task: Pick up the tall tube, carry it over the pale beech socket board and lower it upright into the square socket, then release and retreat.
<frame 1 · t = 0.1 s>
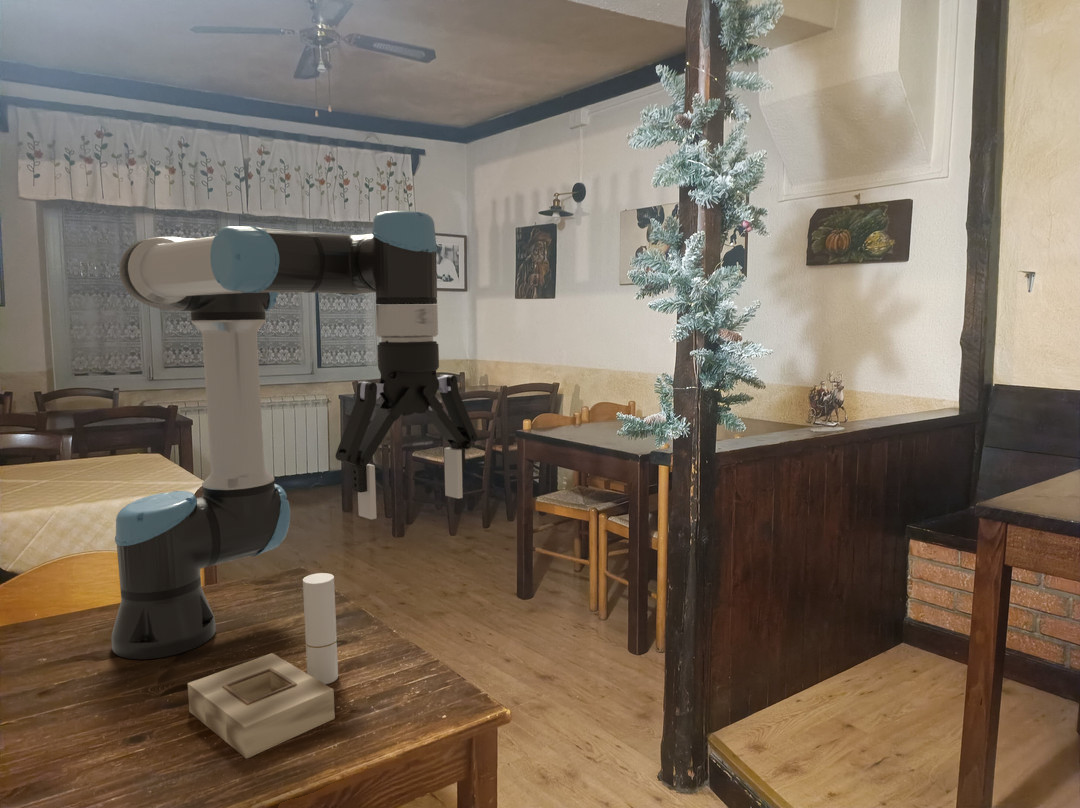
hand: (412, 506, 97), 28 cm above the table, fingers open, 13 cm apart
socket board: (261, 715, 100), on the table
tube: (323, 679, 110), on the table
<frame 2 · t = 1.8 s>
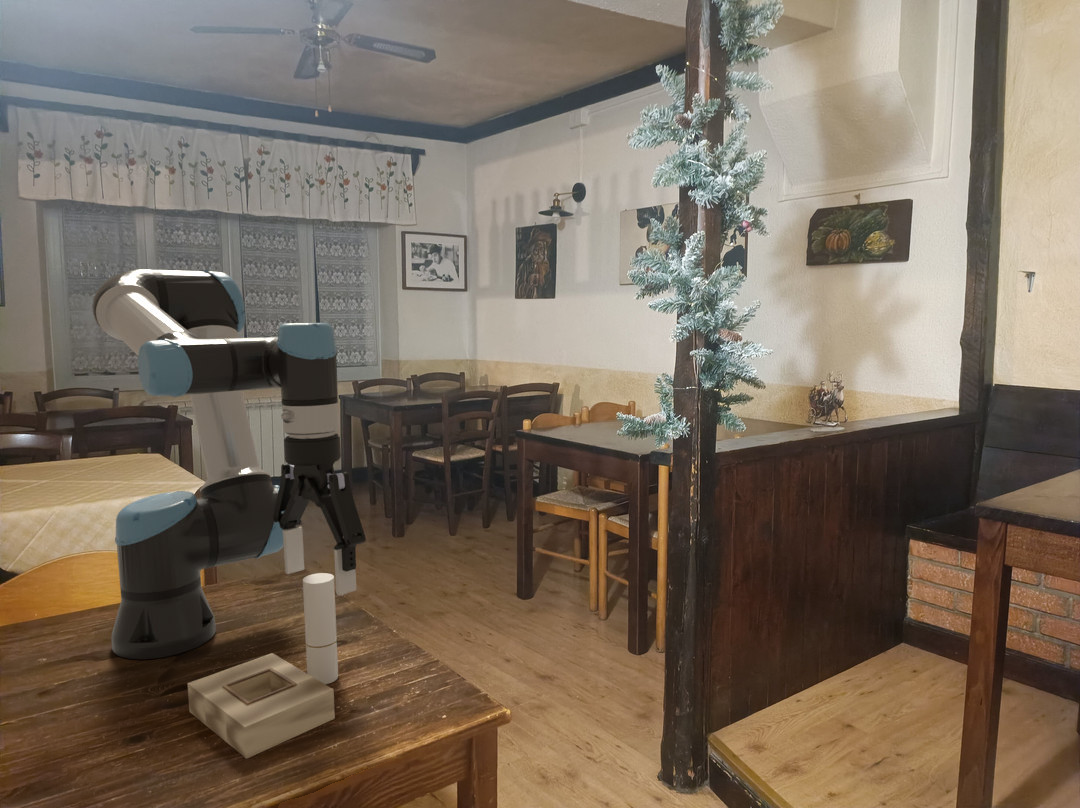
hand: (319, 581, 108), 15 cm above the table, fingers open, 13 cm apart
nothing on the table moved.
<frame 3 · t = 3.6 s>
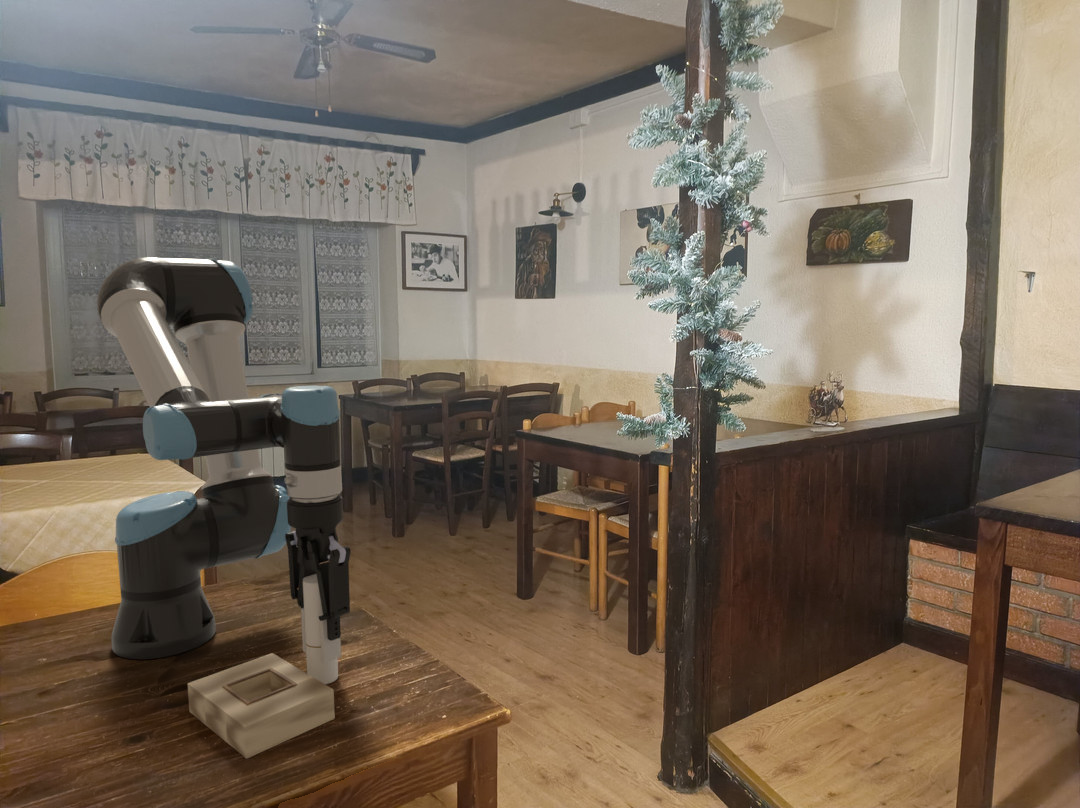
hand: (321, 653, 109), 4 cm above the table, fingers closed on tube, 4 cm apart
tube: (323, 679, 110), on the table, touching gripper
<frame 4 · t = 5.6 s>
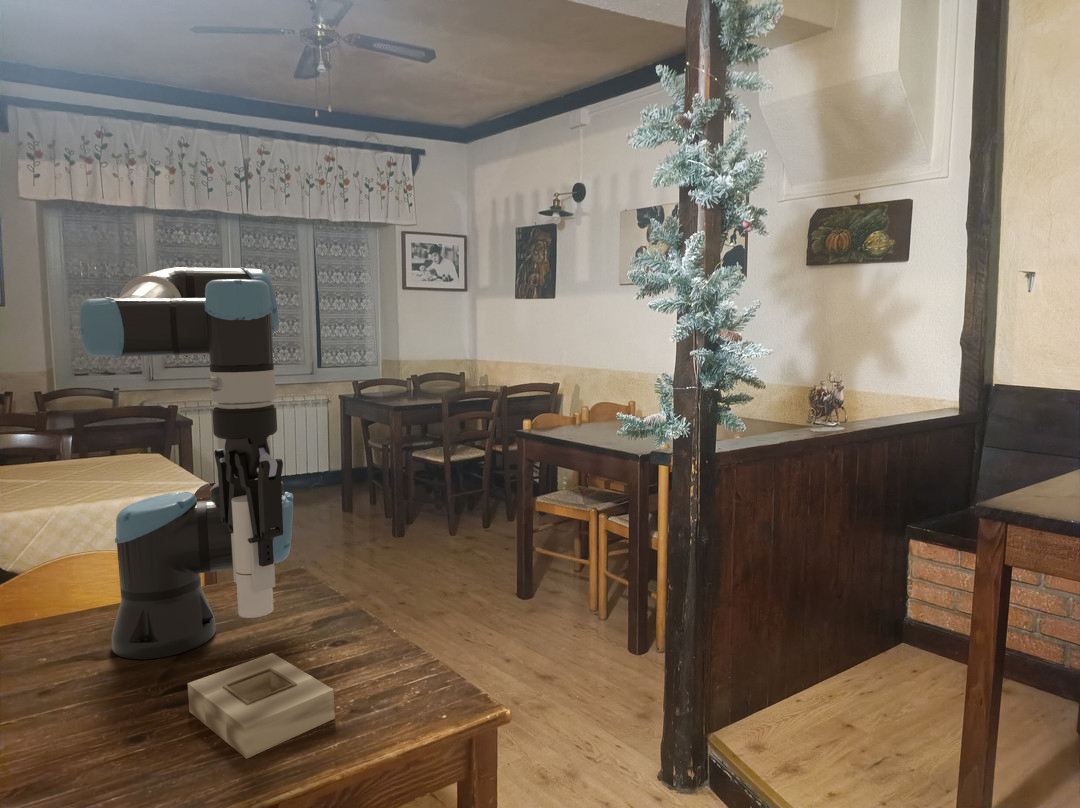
hand: (254, 583, 98), 18 cm above the table, fingers closed on tube, 4 cm apart
tube: (256, 612, 98), point 14 cm above the table, touching gripper
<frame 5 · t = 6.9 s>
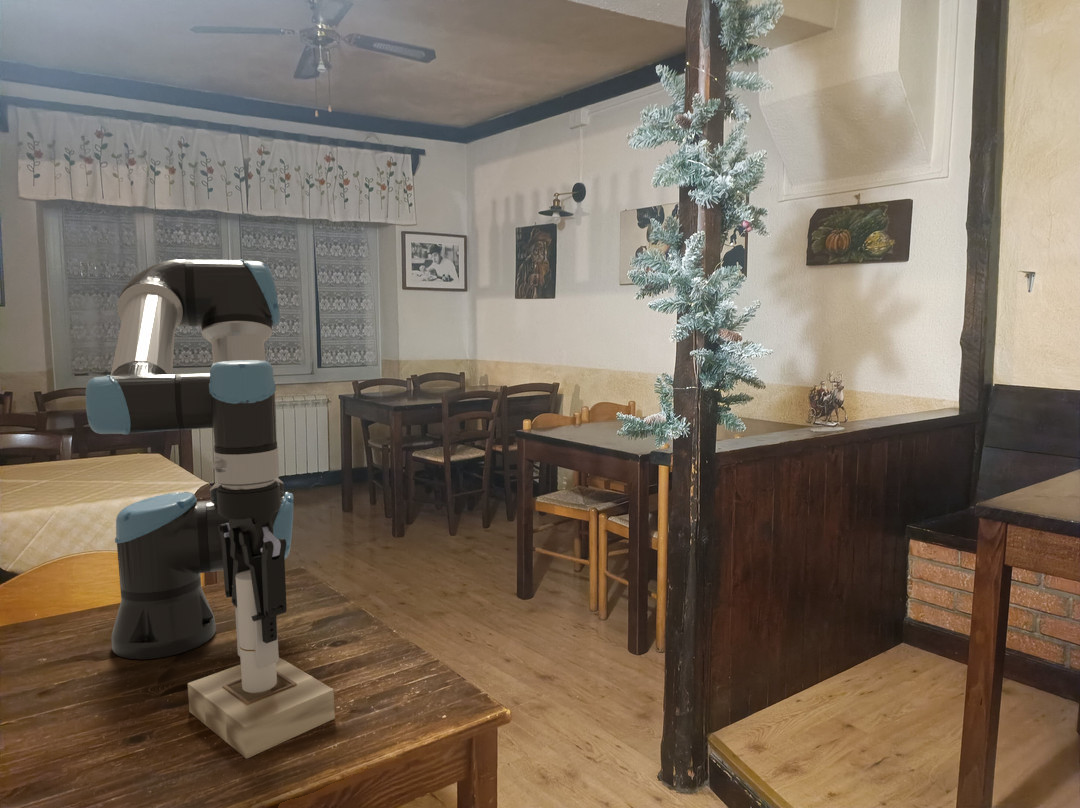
hand: (258, 657, 99), 8 cm above the table, fingers closed on tube, 4 cm apart
tube: (259, 686, 99), point 4 cm above the table, touching gripper
when the fingers open (5 cm above the table, at t = 7.6 s): tube drops 1 cm, on the table.
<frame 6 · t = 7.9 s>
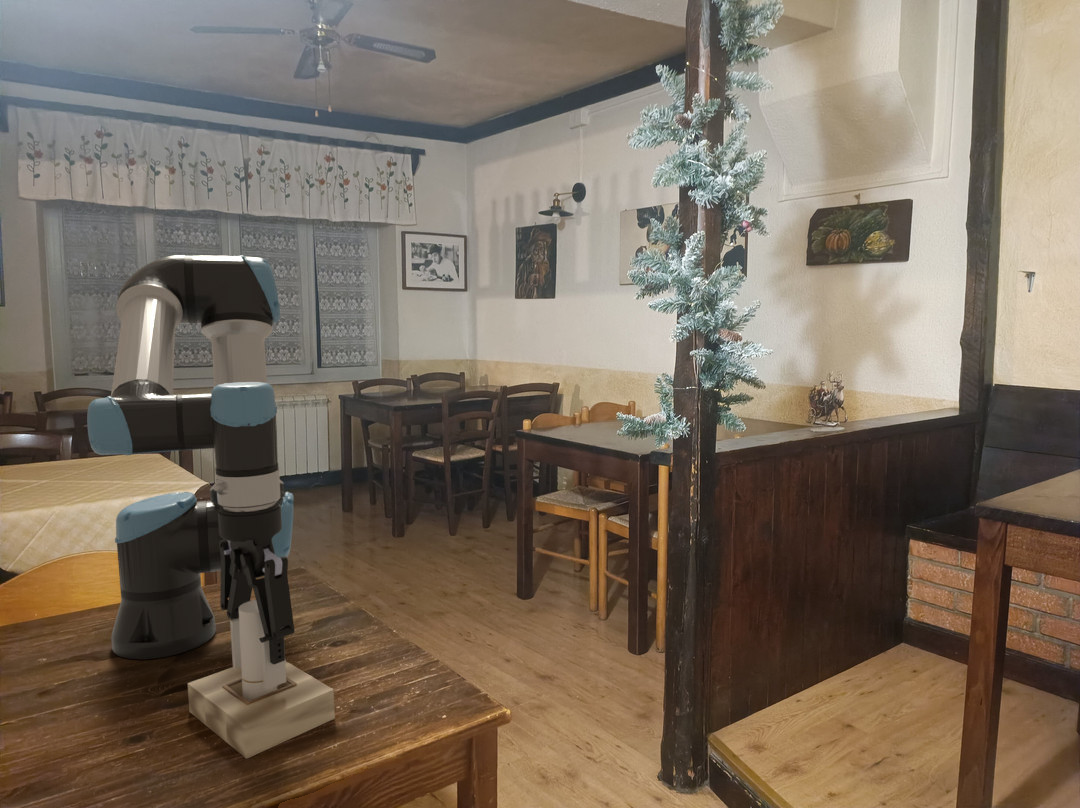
hand: (259, 674, 99), 6 cm above the table, fingers open, 8 cm apart
tube: (261, 715, 100), on the table
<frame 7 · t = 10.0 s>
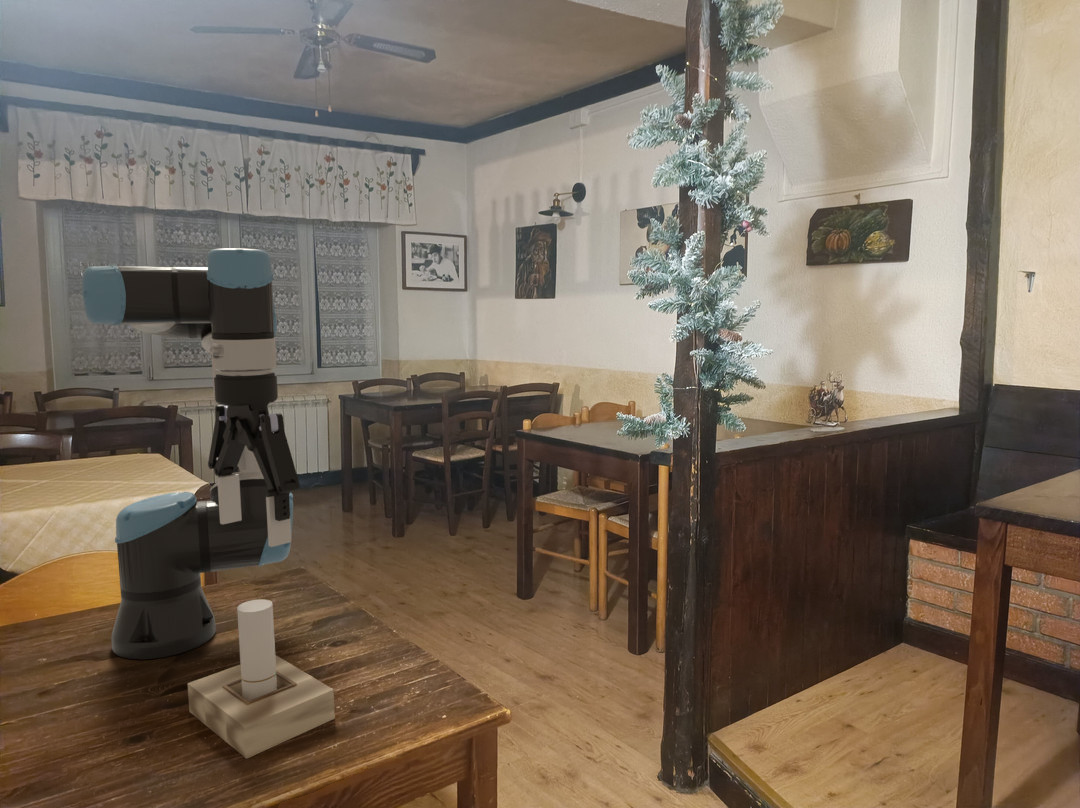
hand: (254, 532, 100), 24 cm above the table, fingers open, 13 cm apart
nothing on the table moved.
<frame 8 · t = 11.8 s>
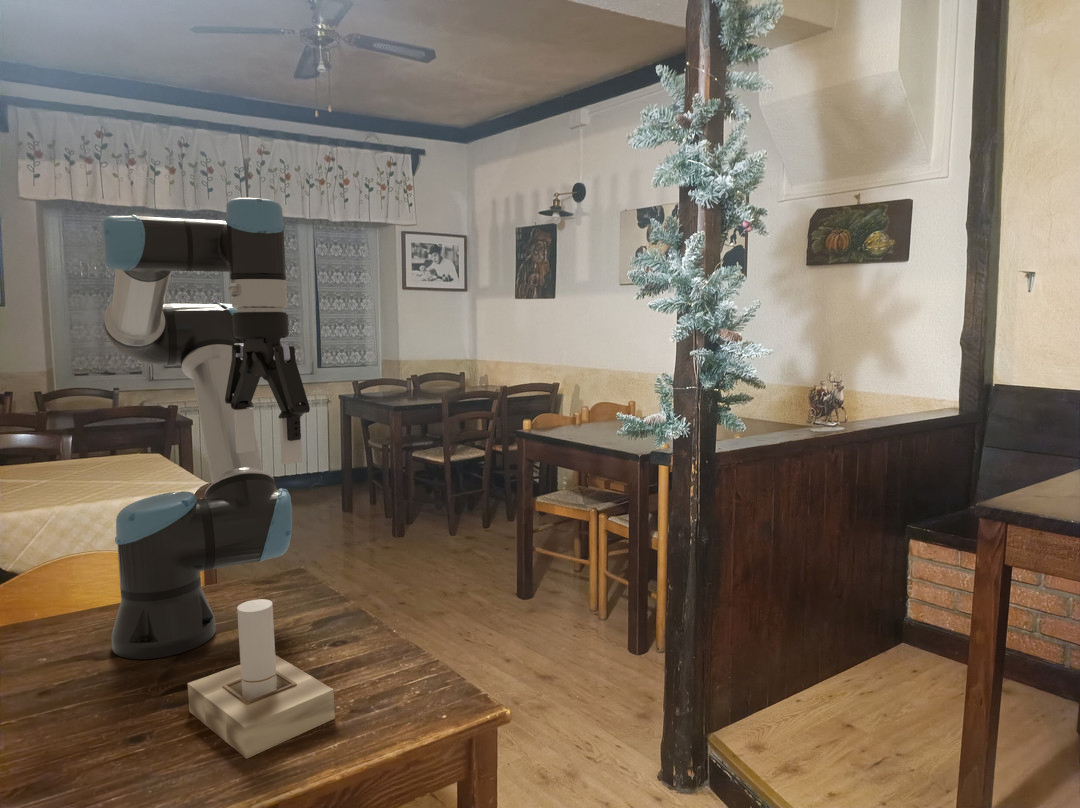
hand: (267, 457, 111), 32 cm above the table, fingers open, 13 cm apart
nothing on the table moved.
at the end: tube 0.1 cm off-centre on the socket board, point 0.0 cm above the socket board's base; tube tilted 0°; the gripper is holding nothing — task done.
